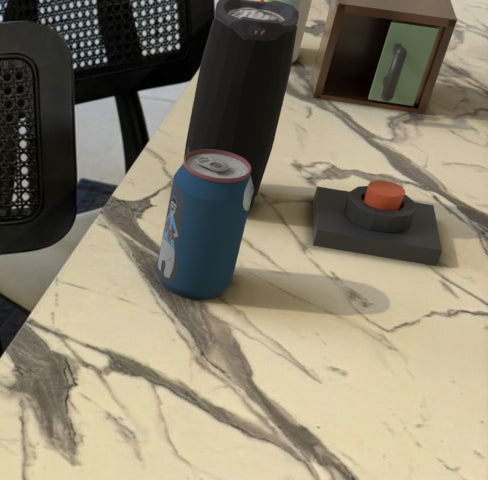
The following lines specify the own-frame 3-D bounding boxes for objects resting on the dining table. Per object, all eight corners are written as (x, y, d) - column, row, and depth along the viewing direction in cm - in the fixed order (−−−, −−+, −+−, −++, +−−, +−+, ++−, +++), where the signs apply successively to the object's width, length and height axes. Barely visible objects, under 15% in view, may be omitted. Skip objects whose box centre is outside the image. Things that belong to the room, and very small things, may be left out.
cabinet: (417, 90, 137) (449, -5, 129) (423, 118, 129) (457, 19, 121) (312, 74, 138) (336, -21, 131) (311, 101, 131) (338, 3, 123)
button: (398, 199, 103) (404, 183, 102) (400, 215, 101) (406, 199, 100) (362, 193, 104) (367, 177, 103) (363, 209, 101) (369, 193, 100)
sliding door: (412, 104, 129) (438, 27, 123) (416, 120, 125) (442, 41, 119) (368, 97, 130) (391, 20, 124) (369, 113, 126) (393, 34, 120)
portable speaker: (253, 187, 111) (300, -3, 98) (258, 228, 104) (309, 30, 91) (175, 177, 112) (211, -13, 99) (174, 217, 105) (213, 18, 92)
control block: (426, 224, 108) (439, 188, 105) (434, 270, 100) (449, 233, 98) (311, 205, 109) (321, 169, 106) (311, 249, 102) (322, 213, 99)
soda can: (242, 286, 95) (273, 164, 87) (204, 315, 91) (232, 189, 83) (180, 259, 98) (204, 138, 90) (139, 285, 94) (161, 162, 86)
